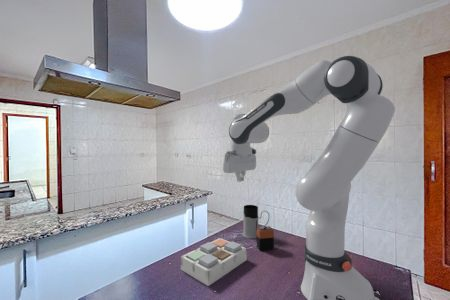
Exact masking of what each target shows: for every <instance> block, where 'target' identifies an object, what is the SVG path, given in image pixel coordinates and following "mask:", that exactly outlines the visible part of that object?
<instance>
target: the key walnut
mask: <svg viewBox="0 0 450 300" xmlns="http://www.w3.org/2000/svg"><path fill="white" fill-rule="evenodd" d="M212 255H213V256H215V257H217V258H218V259H219V260H221V261H222V260H224V259H226V258H227V257H229V256H230V253H228V252H225V251H223V250H219V251H217V252H216V253H214V254H212Z"/></svg>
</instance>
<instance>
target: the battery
mask: <svg viewBox="0 0 450 300" xmlns="http://www.w3.org/2000/svg"><path fill="white" fill-rule="evenodd" d="M274 232H275V231H274V229H273V228H272V226H269V225H268V226H267V225H266V226H265V227H264V226H262V225H261V226H258V228H257V238H256V248H257V249H258V250H259V251H260V252H261V251H262V252H264V251H272V250H274V249H275V243H274V242H275V241H274V240H275V235H274V234H275V233H274Z"/></svg>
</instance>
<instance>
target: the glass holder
mask: <svg viewBox="0 0 450 300" xmlns="http://www.w3.org/2000/svg"><path fill="white" fill-rule="evenodd" d="M264 212H266V213H267V214H268V216H270V213H269V211H267V210H262V211H261V212H260V217H259V207H258V205H255V204H246V205H244V206H243V214H242V215H243V216H242V217H243V218H242V219H243V223H242V224H243V232H242V237H245V238H247V239H257V228H259V219H261V218H262V217H263V216H262V214H263V213H264ZM269 221H270V217H268V218H267V222H266V224H265V225H264V226H263V227H267V225H268V224H269Z"/></svg>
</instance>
